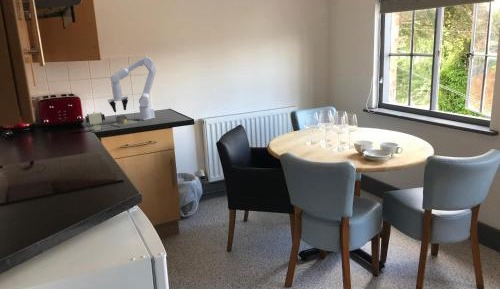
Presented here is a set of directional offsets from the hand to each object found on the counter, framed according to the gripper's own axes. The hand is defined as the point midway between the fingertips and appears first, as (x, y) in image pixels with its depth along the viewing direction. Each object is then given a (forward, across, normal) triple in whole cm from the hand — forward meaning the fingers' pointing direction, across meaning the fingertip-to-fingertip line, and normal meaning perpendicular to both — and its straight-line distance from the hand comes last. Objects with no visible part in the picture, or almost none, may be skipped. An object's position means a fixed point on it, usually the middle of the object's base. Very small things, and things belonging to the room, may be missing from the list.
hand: (120, 110), depth 288 cm
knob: (+8, 0, 0) cm, 8 cm away
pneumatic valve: (+8, +23, +9) cm, 26 cm away
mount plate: (+8, +3, +10) cm, 13 cm away
